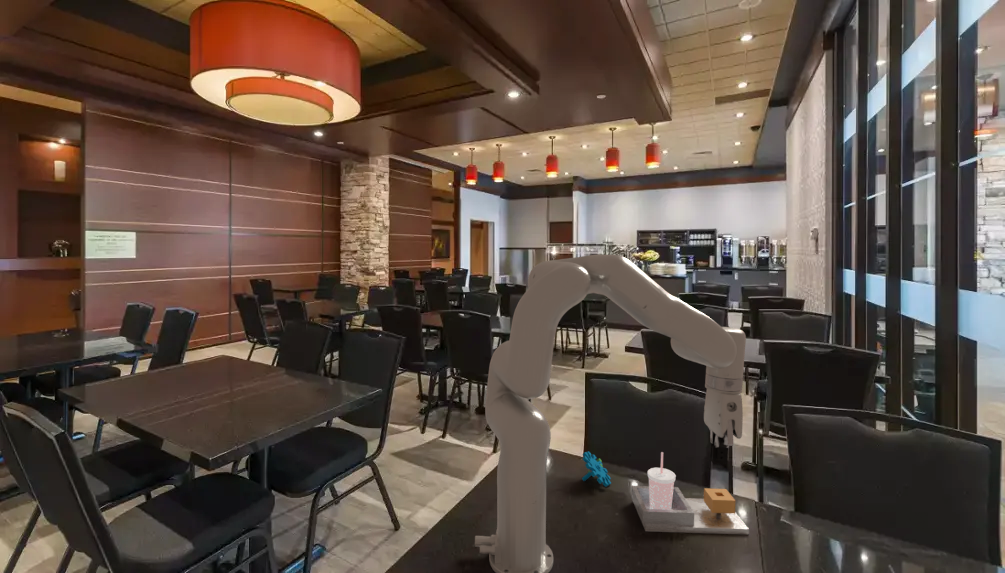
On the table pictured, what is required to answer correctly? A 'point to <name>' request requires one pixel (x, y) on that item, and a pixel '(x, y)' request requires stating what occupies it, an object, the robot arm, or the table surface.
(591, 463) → the blue lobed piece
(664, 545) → the table surface
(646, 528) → the gray tray
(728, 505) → the amber wooden brick
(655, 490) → the beverage cup
